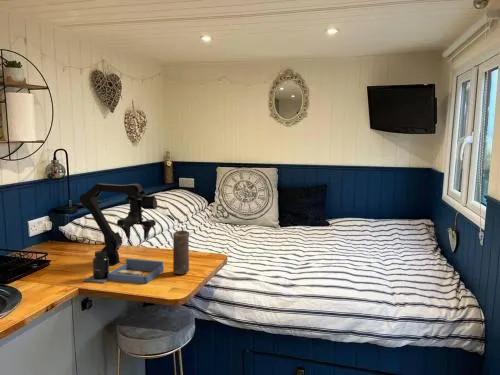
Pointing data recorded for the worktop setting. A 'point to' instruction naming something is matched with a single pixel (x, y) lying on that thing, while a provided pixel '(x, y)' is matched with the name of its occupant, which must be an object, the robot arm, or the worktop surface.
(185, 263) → the candle
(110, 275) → the blue-grey rectangular tray
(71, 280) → the worktop surface
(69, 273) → the worktop surface
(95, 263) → the supplement bottle
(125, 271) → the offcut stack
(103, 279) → the mat
